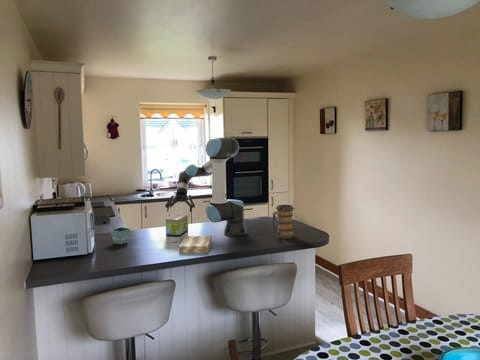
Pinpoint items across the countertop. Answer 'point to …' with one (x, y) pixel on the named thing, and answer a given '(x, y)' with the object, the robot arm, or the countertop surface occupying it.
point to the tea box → (176, 228)
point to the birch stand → (195, 244)
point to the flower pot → (120, 235)
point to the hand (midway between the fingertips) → (178, 215)
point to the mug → (283, 221)
